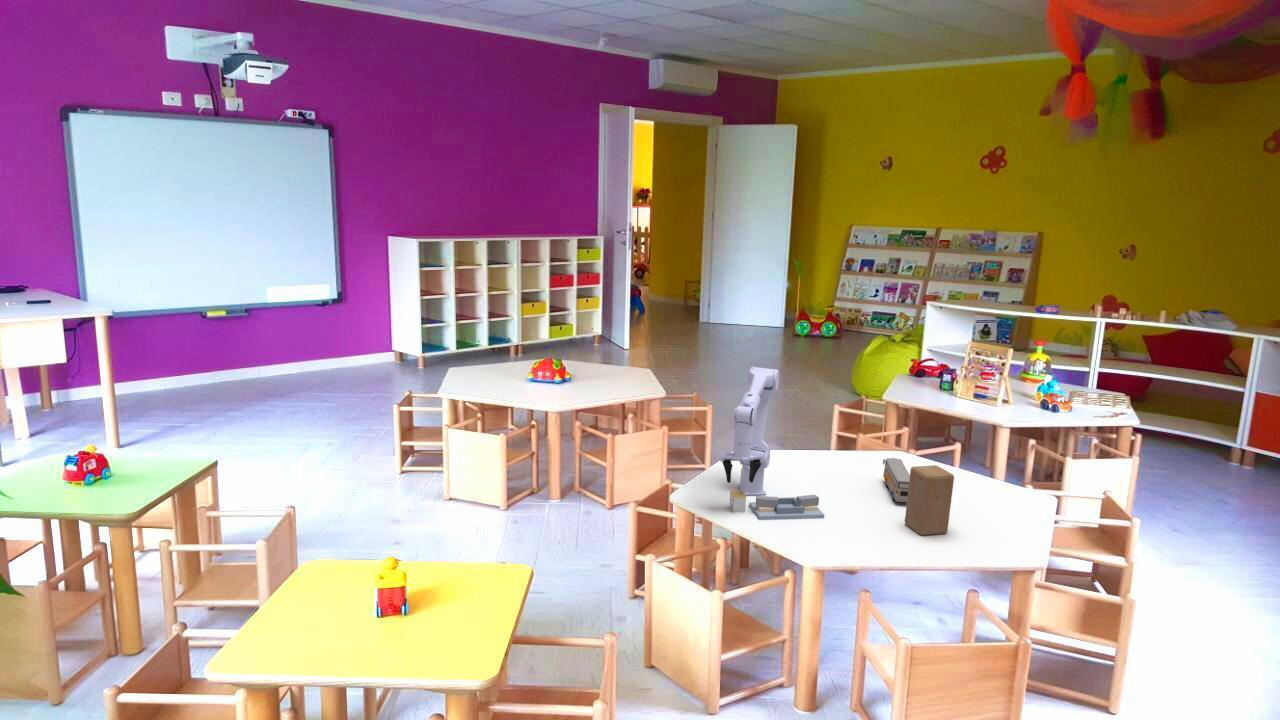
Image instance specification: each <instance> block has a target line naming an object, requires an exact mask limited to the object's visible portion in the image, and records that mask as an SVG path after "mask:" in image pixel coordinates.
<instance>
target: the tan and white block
mask: <svg viewBox="0 0 1280 720" xmlns="http://www.w3.org/2000/svg"><path fill="white" fill-rule="evenodd" d="M746 503H747V495H746V494H745V493H744V492H743V490H740V489H730V491H729V503H728V504H729V506H728V507H729V509H730V508H731V509H730V510H731V511H733V512H740V513H746V505H747V504H746ZM733 512H732V513H733Z"/></svg>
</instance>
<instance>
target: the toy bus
mask: <svg viewBox="0 0 1280 720" xmlns="http://www.w3.org/2000/svg"><path fill="white" fill-rule="evenodd" d="M882 465H884V469H883V475H882V476H883V478H884V481H885V483H884V484H885V485H884V486H885V488H888V489H889V491H890V493H891V500H893V501H892V502H897V503H898V502H899V503H907V497H908V488H909V479H910V473H909V471H908V470H907V468H906V466H905V464H904V462H903V459H901V458H895V457H891V458H890V457H889V458H883V460H882Z"/></svg>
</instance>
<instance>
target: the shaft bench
mask: <svg viewBox="0 0 1280 720" xmlns="http://www.w3.org/2000/svg"><path fill="white" fill-rule="evenodd" d="M819 503H820V497H819V496H817V495H816V494H807V495H799V496H796V497H794V496H793V497H791V496H790V497H778V496H767V495H755V501H751V502H750V501H749V502H748V507H749V508H750V509H751V511H752V512H753V513H754V514H755V516H756V517H757V519H758V520H760V521H762V520H764V521H766V520H797V519H798V520H802V519H806V520H807V519H824V518H825V514H824V512H823V511H822V510H821V509H820V508H819V507H818V506H819Z"/></svg>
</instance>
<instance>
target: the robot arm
mask: <svg viewBox="0 0 1280 720" xmlns="http://www.w3.org/2000/svg"><path fill="white" fill-rule="evenodd" d="M747 378H748V379H747V380H748V384H749V390H748V391H746V392H745V393H744V395H743V397H742V399H741V401H740V403H739V405H738V406H735V407H734V411H733V428H734V437H733V449H732V450H733V452H731V453H730V452H729V453H719V458H718V459H719V461H720V462H721V463H722V465H723V466H722V467H723V468H724V472H725V477H726V482H727V483H728V484H731V482H732V471H733V470H732V469H733V464H732V462H739V464H740V465H742V466H741V469H740V481H739V482H740V483H738V484H737V487H738V488H739V490H743V492H744V493H745V494H746V496H767V492H766V491H765V490H764V476H765V469H767V468H768V467H769V465H770V460H771V448H770V445H769V444H768V443H766V442H765V433H766V427H767V421H768V414H769V409H770V408H769V407H770V401H771V397H772V395H774V394H776V393H777V391H778V386H779V381H780V371H779V370H778V369H776V368H766V367H759V366H758V367H757V366H753V365H752V366H751V367H750V368H749V371H748V377H747Z"/></svg>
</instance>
